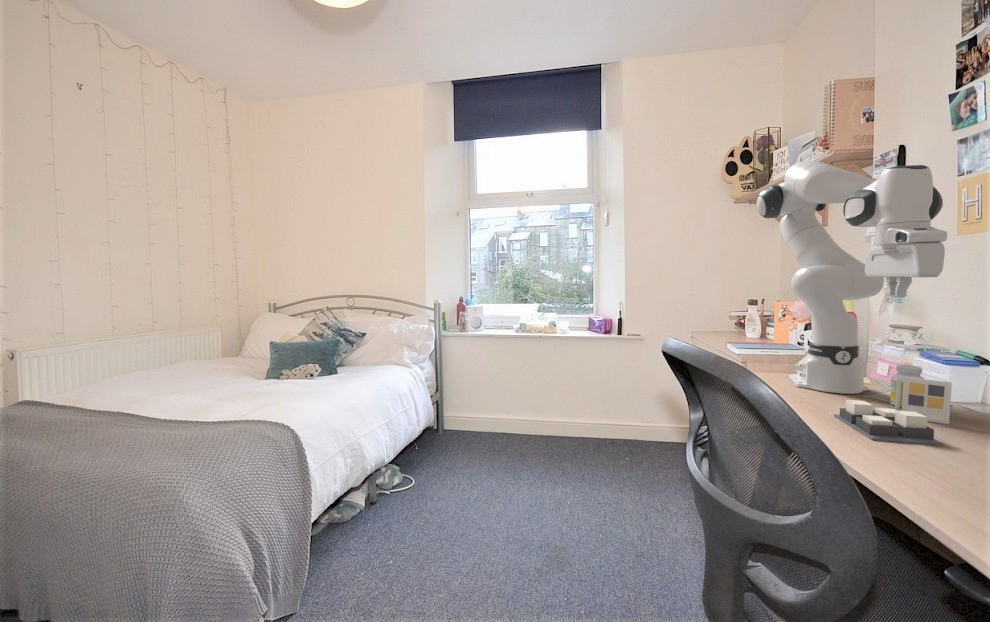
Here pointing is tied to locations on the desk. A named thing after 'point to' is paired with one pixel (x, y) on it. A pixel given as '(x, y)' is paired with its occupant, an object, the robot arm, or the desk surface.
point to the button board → (888, 430)
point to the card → (927, 398)
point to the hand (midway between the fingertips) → (897, 297)
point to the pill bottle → (898, 383)
